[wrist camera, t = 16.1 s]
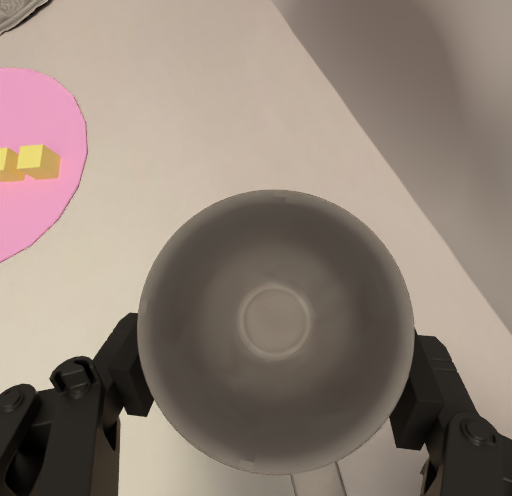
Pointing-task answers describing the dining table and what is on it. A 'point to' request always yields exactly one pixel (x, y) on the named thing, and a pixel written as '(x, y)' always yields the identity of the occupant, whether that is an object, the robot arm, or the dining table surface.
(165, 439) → the dining table surface
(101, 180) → the dining table surface
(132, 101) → the dining table surface
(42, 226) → the platter
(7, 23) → the grey domed piece
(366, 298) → the mug
